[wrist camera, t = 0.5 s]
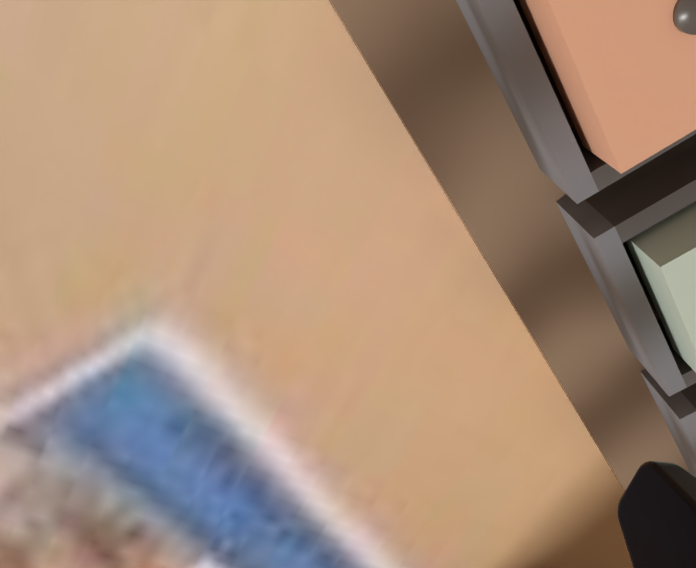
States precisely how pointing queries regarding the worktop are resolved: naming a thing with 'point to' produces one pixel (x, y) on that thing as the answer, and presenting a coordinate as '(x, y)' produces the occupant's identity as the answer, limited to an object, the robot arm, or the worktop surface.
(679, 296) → the button sage
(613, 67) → the button terracotta
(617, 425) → the button panel
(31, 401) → the worktop surface
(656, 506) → the robot arm
